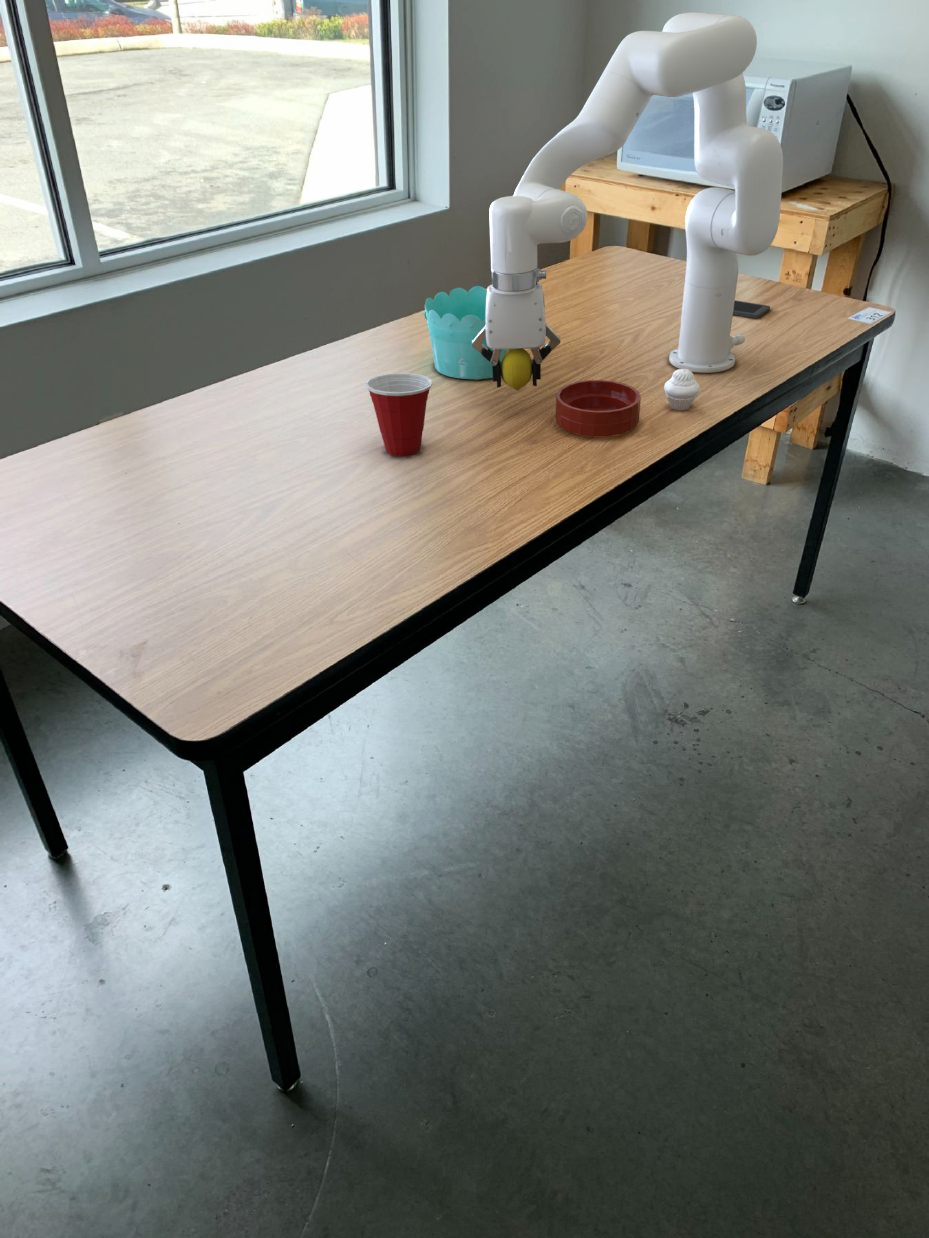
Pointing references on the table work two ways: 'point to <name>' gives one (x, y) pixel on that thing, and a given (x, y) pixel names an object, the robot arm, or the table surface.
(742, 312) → the cell phone
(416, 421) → the plastic cup
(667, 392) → the muffin
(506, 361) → the lemon
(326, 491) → the table surface
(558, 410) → the bowl
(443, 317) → the basket
